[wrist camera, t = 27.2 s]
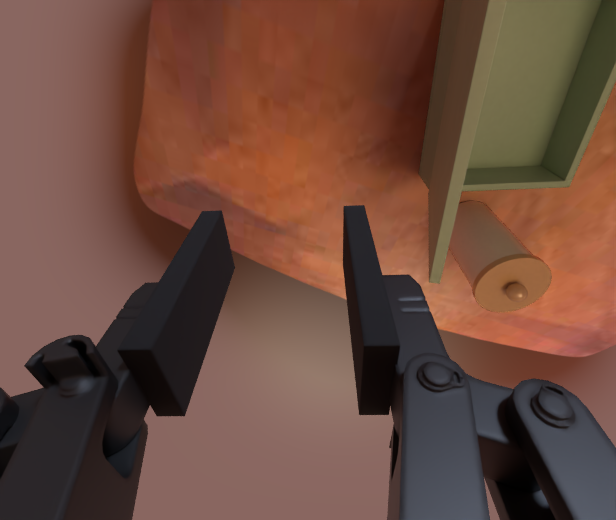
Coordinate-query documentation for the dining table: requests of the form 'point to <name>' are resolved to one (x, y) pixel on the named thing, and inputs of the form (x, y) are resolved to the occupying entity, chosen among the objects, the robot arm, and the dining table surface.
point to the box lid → (460, 120)
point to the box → (532, 93)
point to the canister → (496, 260)
